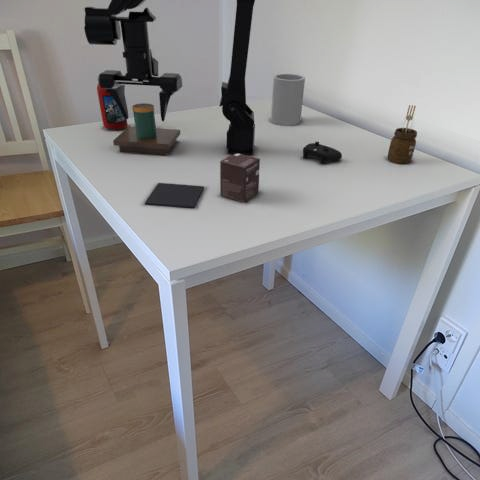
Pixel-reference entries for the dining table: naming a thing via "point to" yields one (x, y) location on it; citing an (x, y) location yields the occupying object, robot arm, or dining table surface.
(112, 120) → the beverage can
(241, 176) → the box
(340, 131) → the dining table surface
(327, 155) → the game controller
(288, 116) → the cup
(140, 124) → the tin
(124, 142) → the stand
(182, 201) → the mat
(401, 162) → the utensil holder
